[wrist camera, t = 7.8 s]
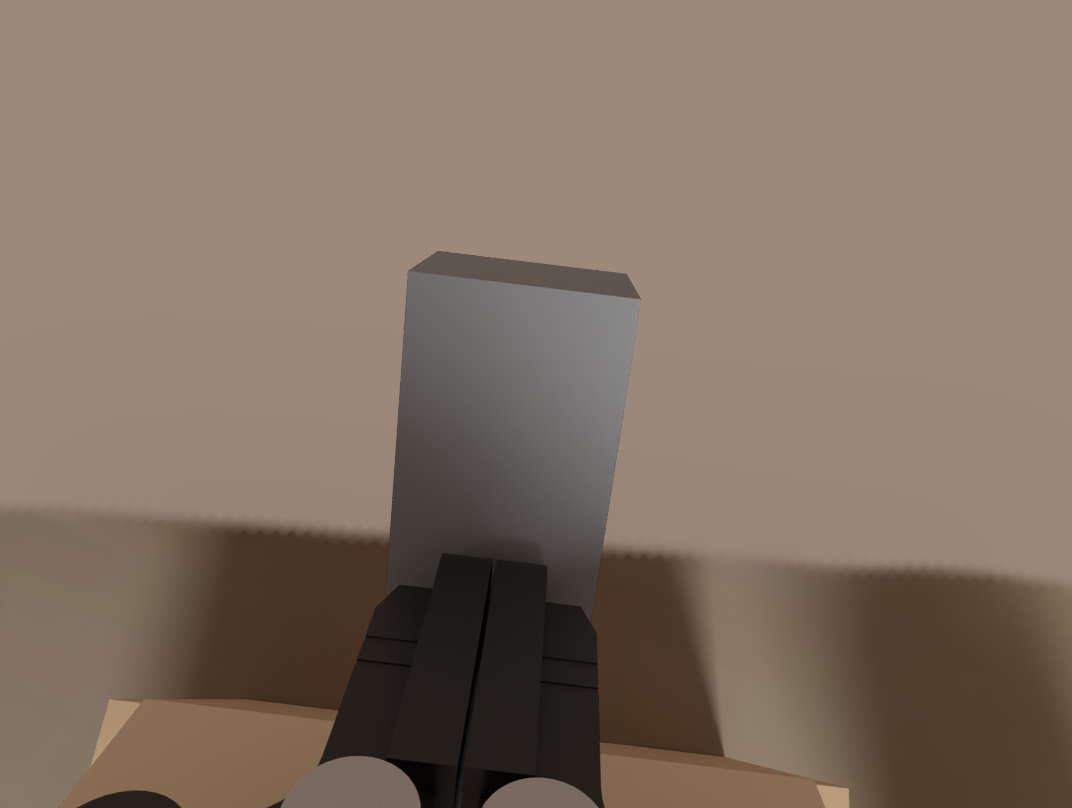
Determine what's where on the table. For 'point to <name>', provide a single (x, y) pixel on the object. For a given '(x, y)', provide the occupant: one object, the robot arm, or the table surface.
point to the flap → (465, 519)
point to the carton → (124, 708)
